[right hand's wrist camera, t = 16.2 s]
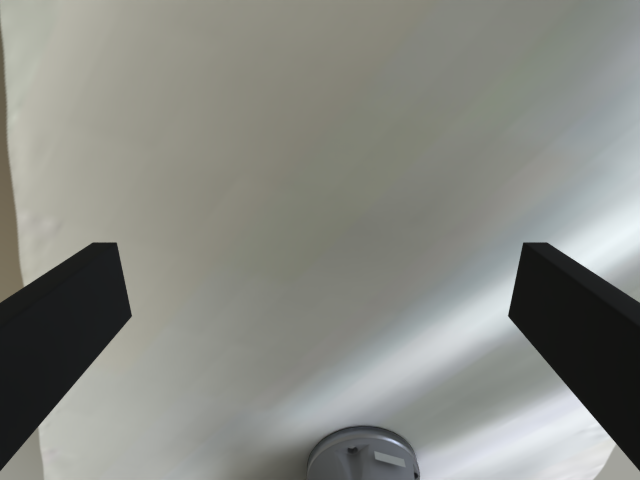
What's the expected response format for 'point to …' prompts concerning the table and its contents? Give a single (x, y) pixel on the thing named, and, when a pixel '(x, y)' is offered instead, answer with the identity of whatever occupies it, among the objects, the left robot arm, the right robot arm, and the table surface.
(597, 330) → the right robot arm
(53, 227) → the table surface
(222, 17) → the table surface
